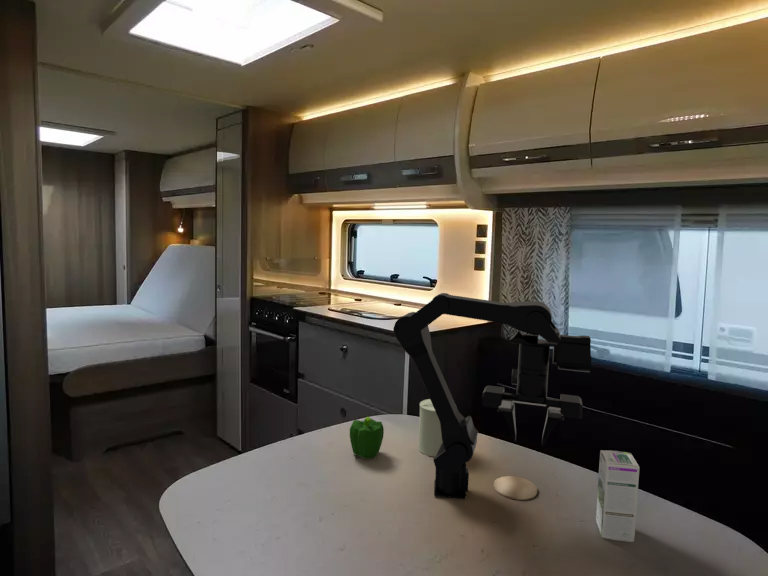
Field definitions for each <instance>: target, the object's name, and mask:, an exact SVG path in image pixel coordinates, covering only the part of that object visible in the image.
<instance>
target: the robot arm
mask: <svg viewBox="0 0 768 576" xmlns="http://www.w3.org/2000/svg"><path fill="white" fill-rule="evenodd" d="M442 315H449V316H453V317H454V316H455V317H462V318H468V319H474V320H481V321H487V322H491V323H492V322H494V323H499V324H501V325H505V326H507V327H510V328H513V329H514V330H517V331H516V333H514V334H513V335H511V336H510V339H509V343H510V344H517V345H518V344H519V347H518V362H517V364H518V365H517V369H516V368H512V370H511V380H510V381H511V384H512V385H515V386H516V393H509V392H505V387H504V386H496V385H486V386H485V387H484V388H483V389H484V390H483V392H482V394H481V406H482V407H487V408H493V409H497V412H498V413H500V414H502V415H503V417H504V420H505V421H506V423H507V426H508V428H509V432H510V434H511V438H512V441H513V442H516V441H517V426H516V425H517V424H516V405H522V406H531V407H537V408H545V409H547V411H546V417H545V420H544V421H545V422H544V426H543V431H542V435H541V436H542V438H541V446H543V447H544V446H545V444H546V442H547V440H548V438H549V436H550V433H551V432H552V430H553V429H554V427H555V426H556V424H557V423H558V422H560V421H564V420H565V418H568V419H569V418H570V419H578V420H580V419H583V413H584V412H583V409H584V405H583V400H582V398H581V397H580V396H579V395H573V394H572V395H571V394H564V393H560V397H559V398H560V399H559V398H551V397H548V387H549V385H548V384H549V383H548V381H549V365H550V352H551V351H550V350H551V347H553V348H552V349H553V350H552V364H555V366H556V367H558V368H557V370H560V371H561V370H563V371H573V372H583V373H591V368H592V359H593V358H592V355H591V353H592V352H591V343H592V342H591V341H592V338H591V336H590V335H572V334H571V335H569V334H561V333H560V329H559V328H557V326H556V325H555V323H554V322H553V321H552V320H553V318H552V310H551V309H550V307H548V305H547V304H546V303H545V302H542V301H537V300H534V301H533V300H532V301H528V300H527V301H515V302H501V301H493V300H486V299H480V298H473V297H468V296H467V297H466V296H459V295H453V294H449V293H447V292H441V293H439V294H436V295H435V296H434V297H432V299H431V301H429V302H428V303H426V304H425V305H423V307H421V308H420V309H418V310H417V311H411V312H408V313H406V314H404V315H403V316H401V317H399V318H398V319H397V320H396V321H395V323H394V326H393V330H392V331H393V335H394V337H395V339H396V340H397V342H398V343H399V345H400V346H401V348H402V350H403V351H404V352H406V354H407V355H408V356H409V357H410V358H411V359H412V361H413V362H414V365H415V367H416V369H417V371H418V375H419V376H420V379H421V381H422V383H423V386H424V388H425V390H426V393H427V394H428V397H429V399H430V400H431V402H432V404H433V407H434V409H435V411H436V414H437V416H438V418H439V421H440V425H441V435H442V441H443V443H442V444H441V446H440V448H439V450H438V452H437V454H436V456H435V457H433V458H434V459H433V463H434V466H435V473H434V474H435V475H434V486H433V488H434V489H433V491H434V493H433V496H434V497H436V498H437V497H438V498H447V499H448V498H449V499H458V500H459V499H460V500H465V499H467V493H468V491H469V479H470V478H469V477H470V473H469V472H470V471H469V468H468V467H467V463H468V462H469V461H470V460H472V457H473V455H474V452H475V449H476V446H477V444H478V435H479V431H478V429H476V427H475V425H474V421H473V418H472V416H471V415H468V416H467V417H465V416H463V414H461V413H460V411H459V410H458V407H457V405H455V404H456V403H455V400H454V398H453V395H452V393H451V391H450V388H449V387H448V384H447V381H446V380H445V377H444V375H443V373H442V371H441V368H440V366H439V363H438V360H437V359H436V356H435V354H434V352H433V348H432V347H433V345H432V337H431V333H430V328H429V325H430V324H432V323H433V322H435V321H436V320H437V319H438V318H440V317H441V316H442ZM525 333H526V334H525ZM539 336H540V337H541V339H540V338H539Z"/></svg>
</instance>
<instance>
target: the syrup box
mask: <svg viewBox="0 0 768 576" xmlns="http://www.w3.org/2000/svg"><path fill="white" fill-rule="evenodd" d="M598 462H599V463H598V465H599V466H598V478H597V481H598V482H597V496H596V507H595V511H596V512H595V523H596V526H597V529H598V530H599V534H600V536H601V538H603V539H607V540H614V541H618V542H619V541H620V542H627V543H628V542H629V543H634V542H635V534H636V523H637V511H638V496H639V495H638V494H639V481H640V480H639V478H640V465H639V464H638V463H637V460H636V459H635V458H634V456H633V454H632V453H631V452H627V451H619V450H602V449H600V451H599V461H598Z"/></svg>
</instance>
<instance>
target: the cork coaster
mask: <svg viewBox="0 0 768 576" xmlns="http://www.w3.org/2000/svg"><path fill="white" fill-rule="evenodd" d="M493 488H494V489H493V490H495V491H496V493H498V494H499V495H500V496H503V497H504V498H508V499H512V500H516V501H517V500H518V501H528V500H532V499H534V498H535V497H536V496H537V494H538V488H537V486H536V485H535V484H534V483H533V482H531V481H530V480H528V479H525V478H523V477H518V476H513V475H512V476H511V475H507V476H501V477H498V478H496V479H495V480H494V482H493Z"/></svg>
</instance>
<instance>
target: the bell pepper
mask: <svg viewBox="0 0 768 576" xmlns="http://www.w3.org/2000/svg"><path fill="white" fill-rule="evenodd" d="M384 430H385V428H384V425H383V422H382V421H376V420H375V419H373V418H371V417H370V416H366V417H365V418H364V420H358V419H355V420H353V421H352V423H351V425H350V427H349V438H350V439H349V440H350V445H351V449H352V452H353V454H354V455H355V454H356V455H355V456H357V457H360V458H363V459H365V458H366V460H367V459H369V460H370V459H374V458H376V456H377V455H378V454H379V452H380V449H381V446H382V443H383V438H384V435H385V434H384V433H385V431H384Z"/></svg>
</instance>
